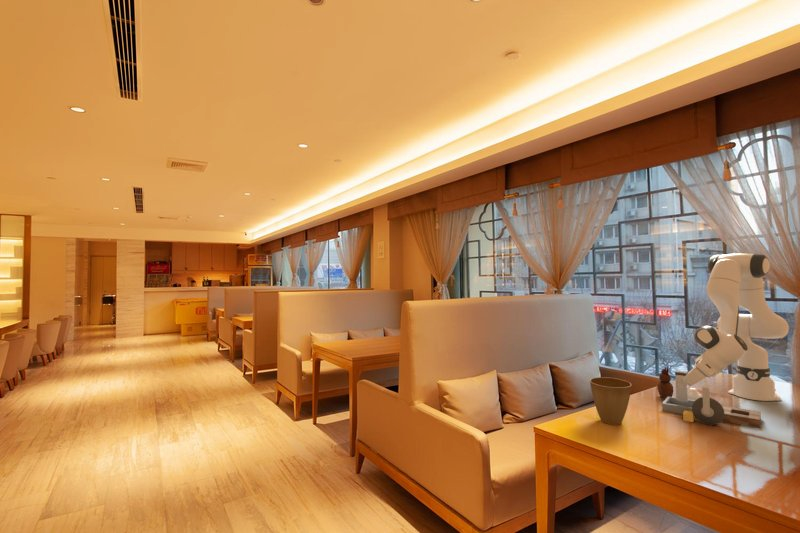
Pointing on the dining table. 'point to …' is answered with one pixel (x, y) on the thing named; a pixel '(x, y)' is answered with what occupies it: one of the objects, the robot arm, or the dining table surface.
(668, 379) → the wooden figurine
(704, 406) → the grey disc with lever
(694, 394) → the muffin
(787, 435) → the dining table surface
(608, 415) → the plant pot
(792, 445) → the dining table surface
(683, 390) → the pin
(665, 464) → the dining table surface
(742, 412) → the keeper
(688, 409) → the tray
